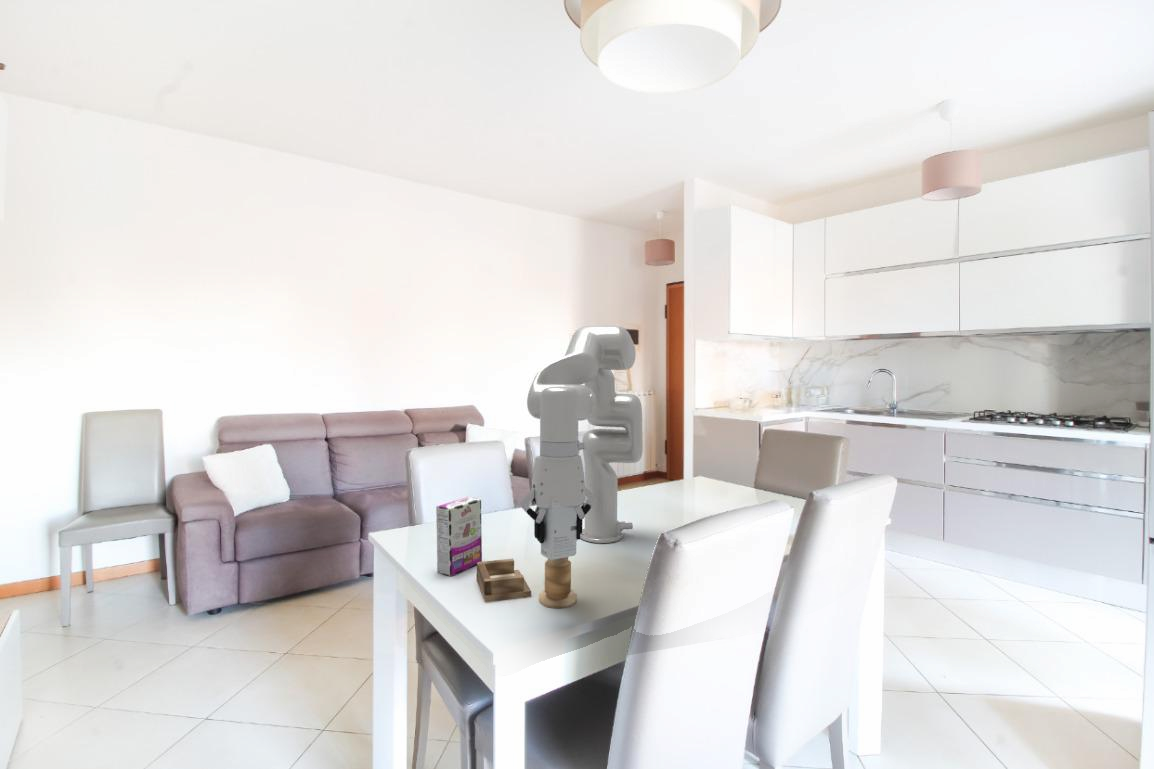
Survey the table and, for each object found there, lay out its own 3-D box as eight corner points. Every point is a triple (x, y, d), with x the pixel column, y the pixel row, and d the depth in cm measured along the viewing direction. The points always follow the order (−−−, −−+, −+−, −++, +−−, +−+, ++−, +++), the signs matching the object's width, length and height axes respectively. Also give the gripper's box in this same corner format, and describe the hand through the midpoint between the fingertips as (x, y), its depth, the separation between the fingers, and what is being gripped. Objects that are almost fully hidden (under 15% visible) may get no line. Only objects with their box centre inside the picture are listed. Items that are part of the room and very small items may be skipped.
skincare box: (551, 561, 105) (552, 498, 105) (539, 554, 109) (539, 493, 109) (578, 555, 109) (578, 494, 109) (565, 548, 113) (565, 489, 112)
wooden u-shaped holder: (518, 574, 132) (518, 557, 132) (531, 596, 120) (531, 577, 120) (476, 579, 129) (476, 561, 129) (484, 602, 117) (484, 582, 116)
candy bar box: (467, 559, 142) (467, 496, 142) (482, 563, 139) (482, 498, 139) (435, 573, 133) (435, 505, 132) (450, 577, 130) (450, 508, 129)
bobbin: (570, 590, 123) (570, 528, 122) (581, 605, 115) (581, 539, 115) (535, 594, 120) (535, 531, 120) (544, 610, 113) (544, 542, 112)
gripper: (593, 445, 115) (592, 530, 115) (511, 448, 109) (511, 538, 110) (607, 450, 108) (606, 540, 108) (520, 454, 102) (519, 550, 103)
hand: (558, 538), depth 109 cm, fingers closed on skincare box, 6 cm apart
